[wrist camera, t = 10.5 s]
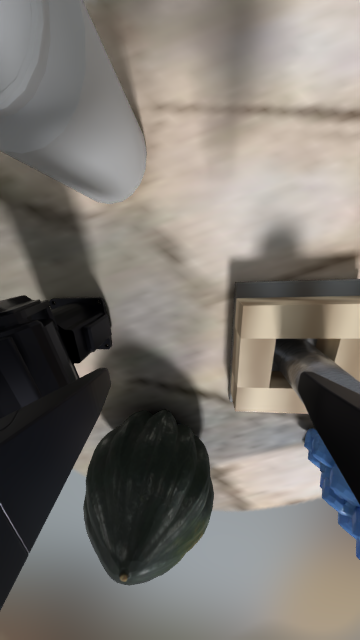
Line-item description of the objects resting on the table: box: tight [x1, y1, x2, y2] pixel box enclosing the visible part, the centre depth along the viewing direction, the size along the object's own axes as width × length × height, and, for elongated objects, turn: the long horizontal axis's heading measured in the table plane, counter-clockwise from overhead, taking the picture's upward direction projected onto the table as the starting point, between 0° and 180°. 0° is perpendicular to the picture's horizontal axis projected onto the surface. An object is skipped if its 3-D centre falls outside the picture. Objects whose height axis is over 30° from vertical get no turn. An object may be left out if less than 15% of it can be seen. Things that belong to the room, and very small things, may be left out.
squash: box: [83, 410, 214, 585], centre depth 22 cm, size 14×15×15 cm
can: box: [0, 0, 147, 204], centre depth 11 cm, size 8×8×12 cm
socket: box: [229, 279, 360, 414], centre depth 20 cm, size 12×15×4 cm
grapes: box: [304, 428, 360, 560], centre depth 20 cm, size 12×7×12 cm, turn 24°
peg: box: [273, 339, 360, 404], centre depth 16 cm, size 4×4×10 cm
